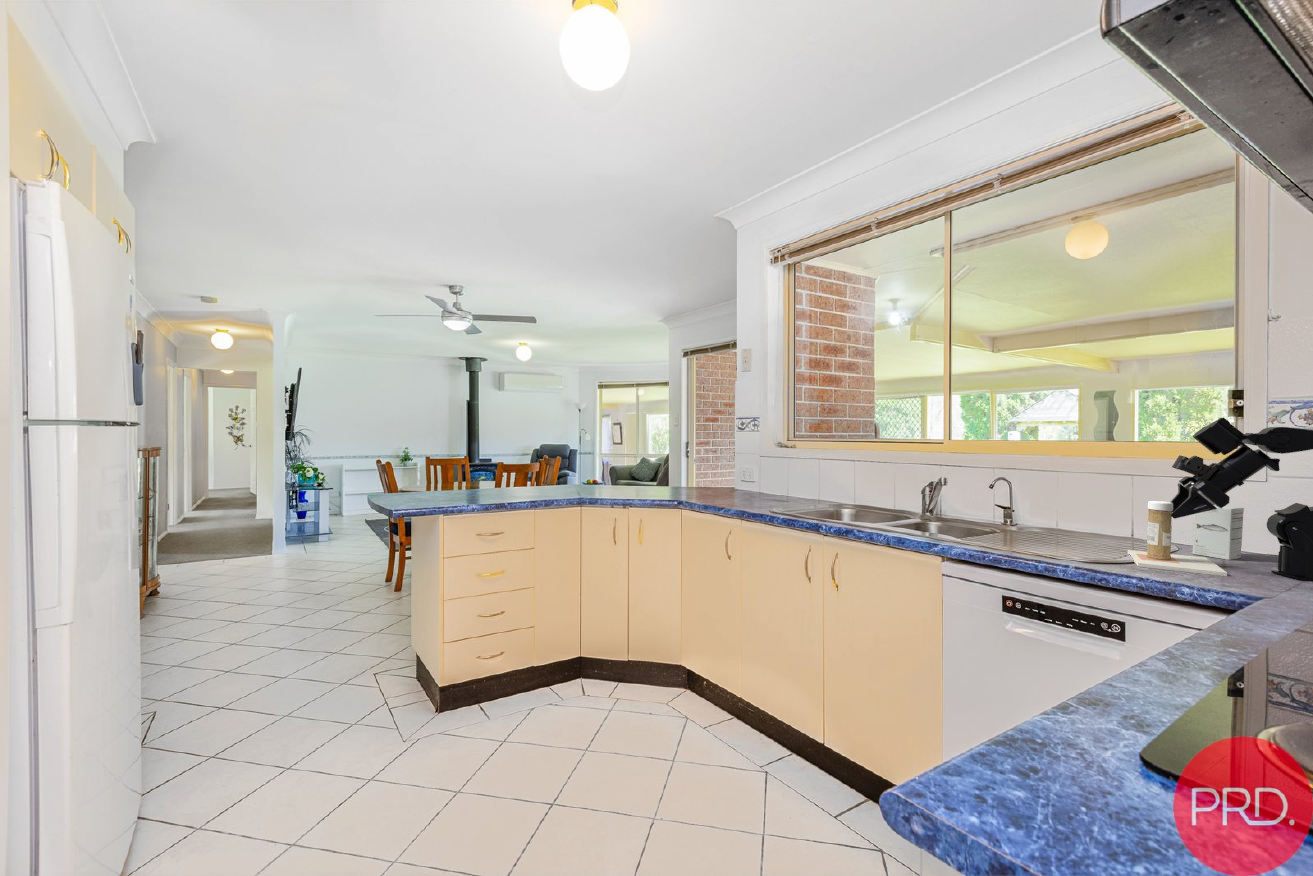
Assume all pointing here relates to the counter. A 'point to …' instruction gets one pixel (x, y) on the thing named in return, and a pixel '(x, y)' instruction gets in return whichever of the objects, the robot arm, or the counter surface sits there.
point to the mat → (1178, 563)
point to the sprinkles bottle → (1159, 530)
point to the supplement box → (1219, 533)
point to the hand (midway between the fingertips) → (1168, 514)
